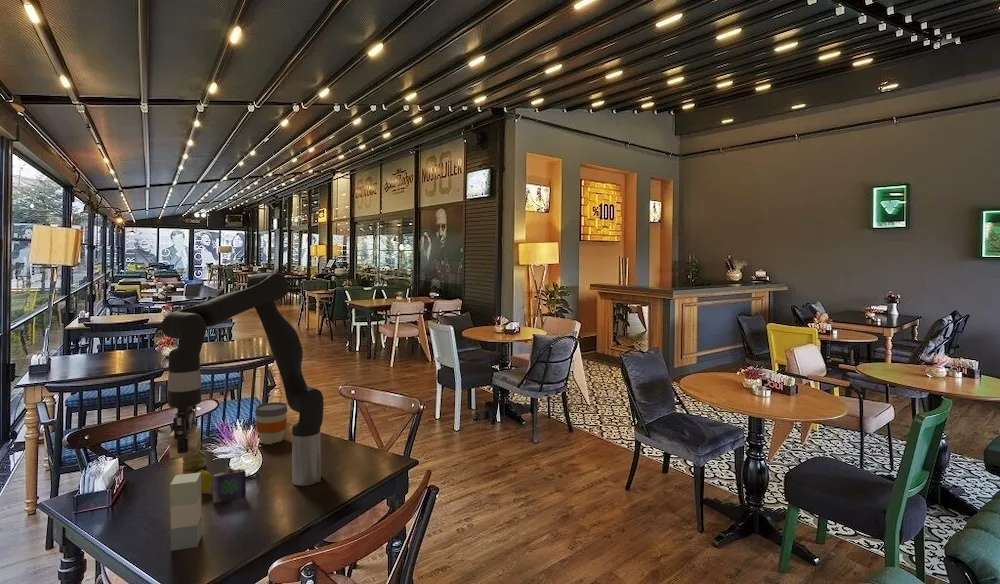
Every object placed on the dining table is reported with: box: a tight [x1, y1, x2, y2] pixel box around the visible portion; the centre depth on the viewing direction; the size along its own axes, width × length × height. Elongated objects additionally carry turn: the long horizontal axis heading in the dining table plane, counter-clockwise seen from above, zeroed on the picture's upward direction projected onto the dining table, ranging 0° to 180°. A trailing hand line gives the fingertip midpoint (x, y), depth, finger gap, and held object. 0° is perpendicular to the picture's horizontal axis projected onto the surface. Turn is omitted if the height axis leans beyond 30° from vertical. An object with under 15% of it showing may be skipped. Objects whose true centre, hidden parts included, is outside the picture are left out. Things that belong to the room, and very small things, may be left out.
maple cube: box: [168, 425, 202, 459], centre depth 134 cm, size 6×6×6 cm
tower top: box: [169, 472, 202, 507], centre depth 134 cm, size 6×6×6 cm
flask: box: [212, 465, 247, 504], centre depth 160 cm, size 9×3×11 cm, turn 121°
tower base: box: [170, 514, 203, 552], centre depth 135 cm, size 6×6×6 cm
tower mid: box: [170, 494, 203, 530], centre depth 135 cm, size 6×6×6 cm
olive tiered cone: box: [181, 441, 207, 472], centre depth 184 cm, size 7×7×10 cm
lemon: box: [196, 469, 213, 495], centre depth 163 cm, size 6×6×8 cm
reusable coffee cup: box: [254, 401, 288, 445], centre depth 212 cm, size 13×13×15 cm
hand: (185, 448), depth 134 cm, fingers closed on maple cube, 6 cm apart
